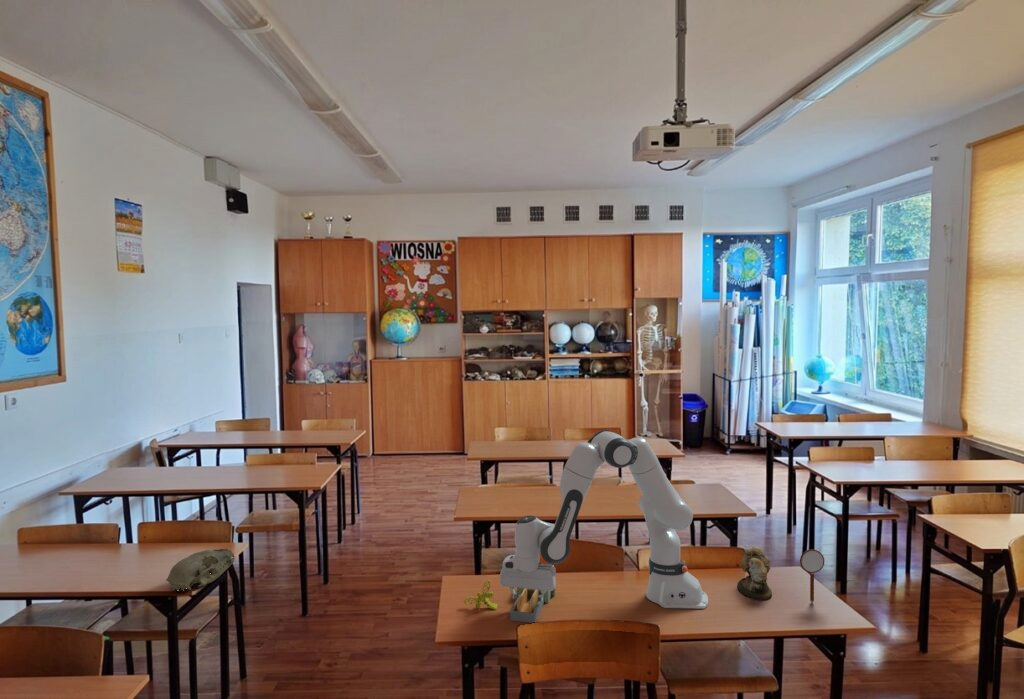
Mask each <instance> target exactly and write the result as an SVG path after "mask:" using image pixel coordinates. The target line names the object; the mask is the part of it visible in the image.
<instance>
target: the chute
mask: <svg viewBox="0 0 1024 699" xmlns="http://www.w3.org/2000/svg"><path fill="white" fill-rule="evenodd" d="M537 603H538V590H535V591H534V593H533V595H532V597H531V599H530V601H527V589H526V588H524V590H523V592H522V594H521V595H520V597H519V599H518V601H517V611H519V612H528V613H533V611H534V609H535V607H536V605H537Z"/></svg>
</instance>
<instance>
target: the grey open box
mask: <svg viewBox="0 0 1024 699" xmlns="http://www.w3.org/2000/svg"><path fill="white" fill-rule="evenodd" d="M523 590H524V588H516V592H517V593H518V598H517V599H515V602H514V604H513V605H512V607H511V609H510V611H509V621H512V622H513V621H514V622H521V623H531V624H533V623H532V622H535V623H536V622H537V619H538V617H539V616H540V613H541V611H542V608H543V607H544V605H545V603H547V604H549V602H550V600H551V598H552V597H554V596H555V595H556V588H555V589H554V590H553V591H546V592H545V594H544V595H543V601H542V602H539V601H538V603H537V605H536V607H535V609H534V611H533V613H528V612H519V611H517V601H518V599H519V597H520V595H521V594H522V592H523ZM534 591H535V589H527V601H530V599H531V597H532V595H533V593H534ZM539 595H542V593H541V590H538V596H539ZM544 602H545V603H544Z"/></svg>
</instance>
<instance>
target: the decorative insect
mask: <svg viewBox="0 0 1024 699" xmlns="http://www.w3.org/2000/svg"><path fill="white" fill-rule="evenodd" d="M491 583H492V582H491V580H490V579H487V580H485V582H484V583H483V586H482V590H481V591H482V592H477V593H476V596H468V597H466V598H465V599H463V604H465V605H472V604H474V603H475V608H476V609H478V610H479V609H481V605H482V603H483V605H485V606H486V607H488V608H489V609H492V610H494V611H496V610H497V609H498V604H497V603H495V602H494V603H493V602H492V601H490V598H491V599H492V598H493V597H494V593H493V592H492V591H489V590H490V588H491ZM485 587H486V588H485ZM470 600H471V601H470Z"/></svg>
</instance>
